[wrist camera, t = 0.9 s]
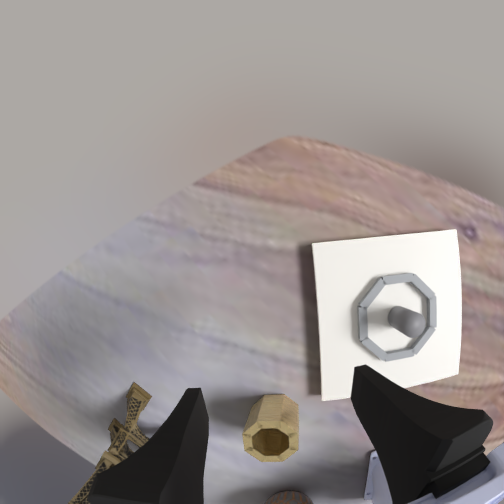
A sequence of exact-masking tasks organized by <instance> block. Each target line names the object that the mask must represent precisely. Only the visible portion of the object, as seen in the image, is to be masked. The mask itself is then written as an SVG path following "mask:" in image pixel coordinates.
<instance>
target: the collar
mask: <svg viewBox="0 0 504 504" xmlns="http://www.w3.org/2000/svg"><path fill="white" fill-rule="evenodd" d="M242 435H243V442H244V449H245V451H246V452H247V453H249V454H250V455H252V456H253V457H255V458H256V459H258V460H259V461H261V462H282V461H284V460H286V459H287V458H288V457H290V456H291V455H292V454H294V453H295V452H296V451H297V450H298V443H299V413H298V404H296V403H295V402H294V401H292V400H291V399H290V398H288V397H287V396H286V395H284V394H275V395H264V396H263V397H262V398H261V399H260V400H259V401H258V402H256V403H255V404H254V405H253V406H252V408H251V411H250V414H249V417H248V420H247V423H246V425H245V428H244V431H243V434H242Z"/></svg>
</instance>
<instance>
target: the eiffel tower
mask: <svg viewBox="0 0 504 504" xmlns="http://www.w3.org/2000/svg"><path fill="white" fill-rule="evenodd" d="M126 397H127V398H128V399H127V400H128V401H127V418H126V423H125V427H124V426H123V425H122V424H121V423H120V422H118V421H117V420H116V419H115V418H114V419H113V421H112V423H111V424H110V426H109V428H108V430H109V431H110V432H111V433H110V436H111V445H110V447H109V449H108V451H109V452H107V451H105V452H104V453H103V455H102V457H101V459H100V461H99V462H98V464H97V466H96V467H95V469H96V471H95V472H94V473H93V474H92V476H91V477H90V478H89V480H88V481H87V482H86V483H85V484H84V486H83V487H82V488H81V489H80V490H79V492H78V493H77V494H76V495H75V496H74V497H73V498H72V500H71V501H70V502H69V503H68V504H90V503H89V501H88V499H87V497H88V494H89V491H90V488H91V485H92V483H93V480H94V478H95V476H96V474H98V473H101V472H103V471H105V470H107V469H109V468H111V467H113V466H115V465H116V464H118V463H120V462H121V461H123V460H124V459H126V458H127V457H129V456H130V455H132V454H133V453H134V452H133V451H132V450H131V449H130V448H129V446H128V444H127V440H128V439H129V440H131V441H132V442H133V443H134V444H136V445H137V446H139V447H142V446H143V445H144V444H145V443H146V442H147V441H148V440H149V438H148V437H146V436H145V435H144V434H143V433H142V432H141V431H140V429H139V428H138V426H137V424H136V423H137V421H138V418H139V415H140V412H141V411H143V410H144V408H145V407H146V405H147V403H148V402H149V400H150V399H151V397H152V396H151V395H150V394H148V393H147V392H146V391H145V390H143V389H142V388H141V387H140V386H139V385H137V384H136V383H135V382H134V383H133V385H132V387H131V389H130V390H129V392H128V394H127V396H126Z"/></svg>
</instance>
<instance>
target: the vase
mask: <svg viewBox="0 0 504 504" xmlns="http://www.w3.org/2000/svg"><path fill="white" fill-rule="evenodd" d="M264 504H313V502H312V501H311V499H310V498H309V497H307V496H306V495H304V494H302V493H300V492H296V491H284V492H280V493H277V494H275V495H273V496H271V497H270V498H269V499H268V500H267V501H266V502H265V503H264Z"/></svg>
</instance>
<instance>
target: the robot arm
mask: <svg viewBox="0 0 504 504" xmlns="http://www.w3.org/2000/svg"><path fill="white" fill-rule="evenodd" d="M351 400H352V403H353V406H354V409H355V412H356V414H357V416H358V418H359V420H360V422H361V424H362V425H363V427H364V429H365V431H366V433H367V435H368V436H369V438H370V440H371V442H372V444H373V446H374V448H375V450H376V451H373V452H372V453H371V454H370V462H369V469H368V476H367V482H366V488H365V494H364V500H371V499H372V503H373V504H497V503H499V502H500V501H501V500H502V499H504V442H503V443H502V444H501V445H499V446H498V447H496V448H495V449H494V450H492V451H491V452H490V453H489V454H488V455H487V456H485V454H484V453H483V452H484V451H485V448H484V446H483V445H482V444H483V443H484V441H485V439H486V438H487V436H488V434H489V433H490V431H491V429H492V426H493V420H492V419H491V418H490V417H489V416H488V415H487V414H486V413H485V412H484V411H483V410H478V409H465V408H459V407H453V406H448V405H444V404H441V403H437V402H434V401H431V400H428V399H426V398H423V397H421V396H418V395H416V394H414V393H412V392H410V391H408V390H406V389H404V388H403V387H401V386H399V385H397V384H396V383H394V382H392V381H391V380H389V379H388V378H386V377H384V376H383V375H381V374H380V373H378V372H377V371H375V370H374V369H372V368H371V367H369V366H368V365H366V364H365V365H361V366H357V367H354V375H353V383H352V391H351ZM208 436H209V417H208V414H207V410H206V406H205V402H204V398H203V395H202V391H201V388H188V389H187V390H186V391H185V393H184V395H183V396H182V398H181V399H180V401H179V403H178V404H177V406H176V407H175V409H174V410H173V411H172V413H171V414H170V416H169V417H168V418H167V420H166V421H165V422H164V423H163V425H162V426H161V427H160V428H159V430H158V431H157V432H156V433H155V434H154V435H153V436H152V437H151V438H150V439H149V440H148V441H147V442H146V443H145V444H144V445H143V446H142V447H140V448H139V449H138V450H137V451H136V452H134V453H133V454H132V455H130V456H129V457H127V458H126V459H124V460H123V461H121V462H120V463H118V464H116V465H115V466H113V467H111V468H109V469H107V470H105V471H103V472H101V473H98V474H96V476H95V478H94V480H93V483H92V485H91V488H90V491H89V494H88V497H87V499H88V501H89V503H90V504H204V498H203V477H204V467H205V460H206V452H207V444H208ZM373 457H375V458H373Z"/></svg>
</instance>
